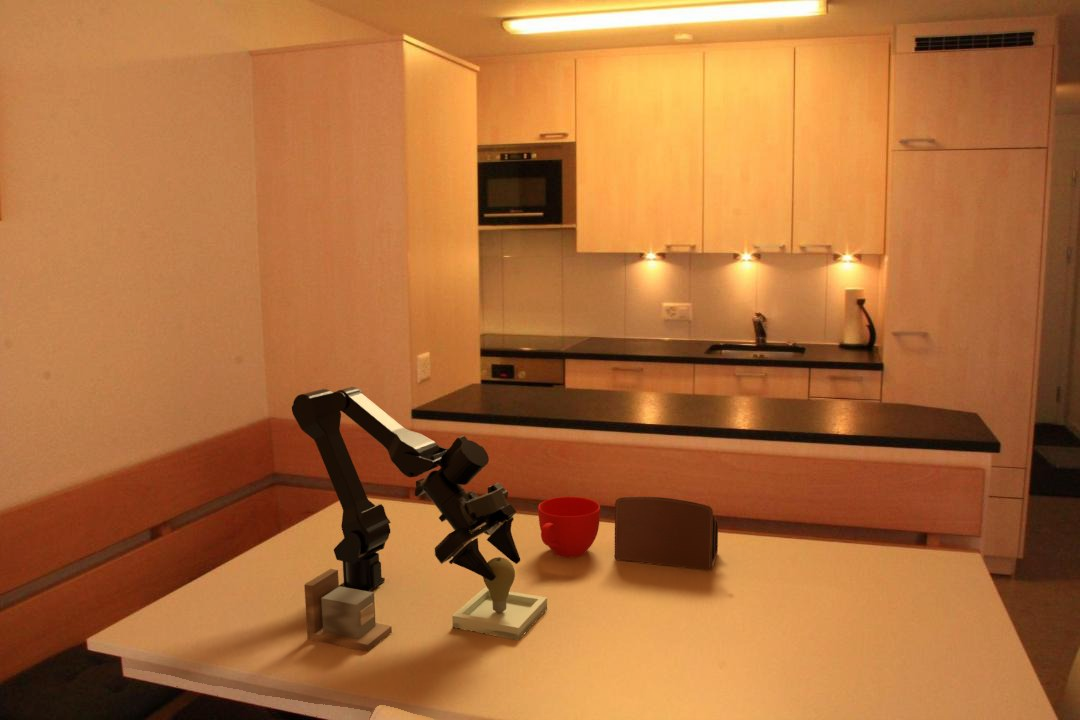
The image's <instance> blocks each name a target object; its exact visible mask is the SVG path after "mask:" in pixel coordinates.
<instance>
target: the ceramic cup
mask: <svg viewBox="0 0 1080 720" xmlns="http://www.w3.org/2000/svg"><path fill="white" fill-rule="evenodd" d="M537 513H538V523H539V529H540V537H541V540H542V543H543V544H544V545H545V546H547V547H548V548H550V550H551V551H552V552H553V553H554V555H556V556H557V555H558V557H560V558H565V557H567V559H572V558H573V557H574V558H579V557H581V556H584V555H585V554H586V552H587V551H588V550H589V549H590V548H591V547H592V546H593V543H594V542H595V540H596V537H597V535H598V532H599V527H600V521H601V505H600V504H599V502H597V501H595V500H592V499H589V498H586V497H580V496H578V497H577V496H561V497H559V496H558V497H552V498H549V499H546V500H544V501H542V502H540V503H539V504H538V506H537ZM574 558H573V559H574Z"/></svg>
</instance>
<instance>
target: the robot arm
mask: <svg viewBox="0 0 1080 720" xmlns="http://www.w3.org/2000/svg"><path fill="white" fill-rule="evenodd" d="M291 412H292V415H293V417H294V419H295V420H296V422H297V424H298V426H299V427H300V430H301V431H303V432H304V433H305V434H307V436H308V437H310V438H311V439H312V440H313V441H314V443H315V445H316V448H317V451H318V452H319V455H320V457H321V460H322V461H323V462H322V463H324V466H325V469H326V472H327V474H328V476H329V479H330V481H331V484H332V487H333V488H334V492H335V493H336V496H337V499H338V501H339V503H340V505H341V509H342V517H341V518H342V519H341V525H340V526H341V530H342V535H343V539H342V540H341V541H340V542H338V544H337V545H336V546H335V547H334V548H333V553H334V556H335V559H336V560H337V561H340V562H342V574H343V582H342V583H341V584H340V583H339V586H341V587H346V588H352V589H357V590H363V591H368V592H372V591H373V590H374V589H375V588H377V587H378V586H380V585H381V584H383V582H385V581H386V579H385V577H382V562H381V561H380V553H379V551H381V550H384V549H385V545H386V542H387V541H388V539H389V537H390V534H391V526H390V524H392V523H391V521H390V519H389V518H388V516H387V513H386V510H385V507H384V505H383V504H382V503H378V504H377V505H376V504H374V503H373V502H371V500H369V498H368V496H367V494H366V492H365V489H364V486H363V484H362V482H361V479H360V477H359V474H358V472H357V470H356V467H355V464H354V462H353V460H352V457H351V455H350V452H349V451H348V450H349V449H348V447H347V446H346V443H345V440H344V438H343V436H342V434H341V433H342V432H341V431H340V429H341V421H342V420H341V418H342V413H343V414H345V416H347V417H348V418H349V419H350V420H352V421H353V422H354V423H355V424H356V425H358V426H359V427H360V428H361V429H362V430H363V431H365V432H366V433H368V435H370V436H371V437H372V438H374V440H376V441H377V442H378V443H379V444H380V445H381V446H383V447H384V448H385V449H386V450H387V452H388V456H389V458H390V461H391V463H393V464H394V466H395V467H396V468H397V469H398V470H399V472H401V474H402V475H403V476H405V477H408V478H416V477H418V476H421V475H423V474H425V473H427V472H429V473H428V474H427V476H426V477H425V478H421V479H418V480H416V481H415V489H414V496H415V497H419V496H421V495H424V494H426V495H427V497H428V498H429V499H430V501H432V503H433V504H434V505H435V507H436V508H437V509H438V511H439V512H440V513H441V515H440V516H438V519H439V521H440V522H441V523H443V522H445V521H447V522H448V524H449V525H450V526H451V528H452V529H453V531H451V532H449V533H448V534H447V535H446V536H445V537H444V538H443V539H442V540H441V541H440V542H439V543H438V544H437V545H436V546H435V547H434V556H435V558H436V559H437V560H438V562H439V563H440V564H441V565H443V564H444V563H446V562H448V563H449V564H450V565H453V564H454V565H456V566H459V567H461V568H464V569H467V570H468V571H471V572H473V573H475V574H477V575H479V576H481V577H482V578H483V577H484V578H486V579H488V580H490V581H493V580H494V579H495V578H496V576H495V574H494V572H493V570H492V569H491V567H490V566H489V564H488V563H487V562H488V561H487V560H486V559H485V557H484V556H483V554H482V553H481V552H480V551H481V550H480V549H479V538H478V537H479V536H481V535H482V534H485V535H487V536H488V537H487V539H486V541H487V542H488V543H489V544H491V545H492V546H493V547H494V548H496V549H497V551H499V552H500V553H501V554H503V555H504V556H505V557H507V559H508V560H509V561H512V563H514V564H515V565H517V564H519V563H520V562H521V557H520V553H519V552H518V549H517V545H516V543H515V541H514V537H513V534H512V530H511V529H512V523H513V522H514V515H516V514H517V510H516V509H515V508H514V507H513V505H512V504H511V503H507V500H506V499H508V496H509V492H508V490H506V488H505V487H504V486H503V485H502V484H501V483H500V482H497V483H494V484H492V485H490V486H488V487H487V492H486V493H484V494H482V495H478V494H477V493H476V492H475V491H470V492H467V491H466V490H465V488H464V486H467V485H468V484H469V483H470V482H471V481H472V480H473V479H474V478H475V477H476V476H477V475H478V474H479V473H480V472H481V471H482V470H483V469H484V468H485V467H486V466H487V465H488V464H489V461H490V460H489V454H488V452H487V451H486V449H485V448H484V447H483V446H482V445H479V444H478V443H477V442H475V441H473V440H469V439H468V438H467V437H466V436H465V435H462V436H459V437H456V439H455V440H453V443H452V444H451V446H450V447H449V448H447V447H445V446H441V445H438V444H437V442H435V440H432V439H430V438H429V437H427V436H425V435H424V434H422V433H420V432H416V431H413V430H409V429H408V428H406V427H403V426H402V425H401V424H400V423H398V421H396V420H395V419H394V418H393V417H392V416H390V415H389V414H388V413H386V412H385V411H384V410H383V409H381V408H380V407H379V406H378V405H377V404H375V403H374V402H373V401H372V400H370V399H369V398H368V397H367V396H366V395H364V393H363V391H362V389H360V388H359V387H356V386H350V387H346V388H343V389H339V390H336V391H331V390H329V389H326V388H321V389H317V390H313V391H310V392H309V391H308V392H305V393H302V394H298V395H297V396H296V397H295V398H294V400H293V404H292V405H291ZM437 467H440V468H439V469H437V470H434V469H436V468H437ZM430 471H431V472H430Z"/></svg>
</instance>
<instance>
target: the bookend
mask: <svg viewBox="0 0 1080 720" xmlns="http://www.w3.org/2000/svg"><path fill="white" fill-rule="evenodd" d="M339 580H340V579H339V570H338V569H333V568H330V569H327V570H325V572H323V573H320V574H319V575H318V576H316V577H314V578H312V579H311V580H309V581H308V582H306V583H304V586H303V587H304V604H305V616H306V617H305V619H306V632H307V633H306V635H307V640H310V641H315V642H320V643H326V644H330V645H335V646H340V647H345V648H349V649H353V650H358V651H363V652H367V653H368V652H369V651H371V650H372V649H374V647H376V646H377V645H378V644H380V643H381V642H383V640H385V639H386V638H388V637H389V636H390V635H391V634H392V631H393V630H392V628H393V627H392V625H389V624H383V623H377V622H376V608H375V607H376V606H375V592H373V591H369V592H368V591H363V590H357V589H352V588H346V587H341V586H339V585H340V583H339ZM390 633H391V634H390ZM385 637H386V638H385ZM380 641H381V642H380ZM379 642H380V643H379Z"/></svg>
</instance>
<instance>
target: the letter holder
mask: <svg viewBox="0 0 1080 720" xmlns="http://www.w3.org/2000/svg"><path fill="white" fill-rule="evenodd" d="M718 536H719V522H718V520H717V519H716V517H715V515H714V511H713V508H712V507H711V506H709V505H706V504H703V503H699V502H695V501H689V500H683V499H677V498H668V497H661V496H659V497H658V496H626V497H625V496H624V497H618V498H617V499H616V500H615V502H614V555H613V557H614V560H615V561H622V562H629V563H639V564H648V565H656V566H663V567H672V568H682V569H691V570H695V571H696V570H699V571H706V572H707V571H708V572H711V571H712V570H713V568H714V564H715V562H716V558H717V556H718V550H719V549H718V547H719V544H718V543H719V542H718V541H719V537H718Z"/></svg>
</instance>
